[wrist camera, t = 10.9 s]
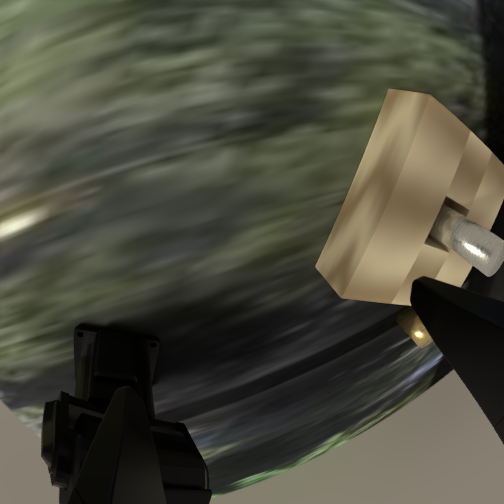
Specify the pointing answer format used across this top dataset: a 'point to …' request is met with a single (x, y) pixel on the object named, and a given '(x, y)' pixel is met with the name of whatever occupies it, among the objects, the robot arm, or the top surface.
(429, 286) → the robot arm
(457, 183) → the birch hole block
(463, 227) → the long steel pin
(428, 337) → the short brass pin
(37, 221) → the top surface
